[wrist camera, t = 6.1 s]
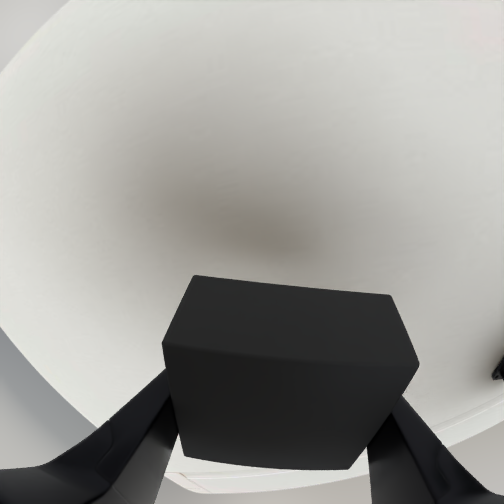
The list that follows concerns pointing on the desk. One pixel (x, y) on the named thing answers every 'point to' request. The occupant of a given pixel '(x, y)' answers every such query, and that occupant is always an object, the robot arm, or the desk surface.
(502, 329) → the desk surface
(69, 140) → the desk surface
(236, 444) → the black block
